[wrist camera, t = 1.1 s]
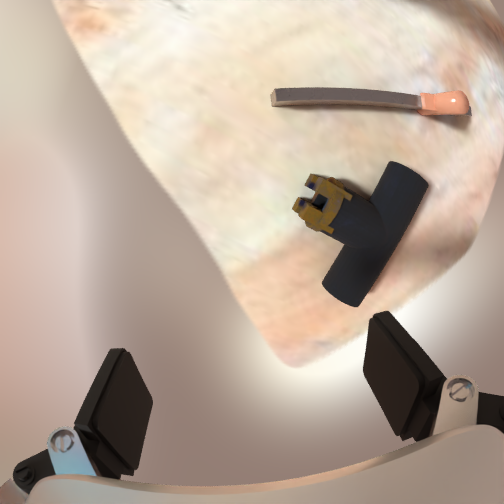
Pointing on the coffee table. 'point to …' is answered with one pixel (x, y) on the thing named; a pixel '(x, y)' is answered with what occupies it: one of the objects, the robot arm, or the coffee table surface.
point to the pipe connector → (362, 226)
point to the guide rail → (376, 99)
